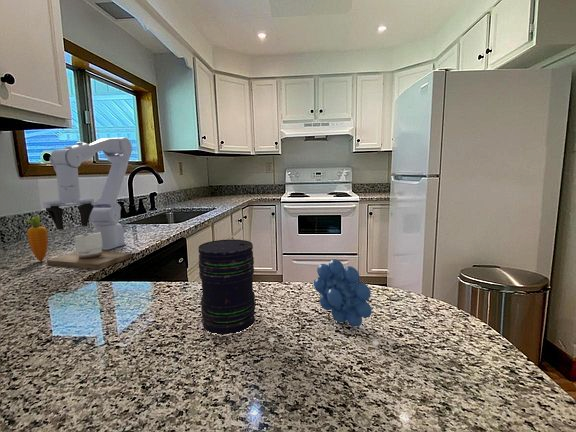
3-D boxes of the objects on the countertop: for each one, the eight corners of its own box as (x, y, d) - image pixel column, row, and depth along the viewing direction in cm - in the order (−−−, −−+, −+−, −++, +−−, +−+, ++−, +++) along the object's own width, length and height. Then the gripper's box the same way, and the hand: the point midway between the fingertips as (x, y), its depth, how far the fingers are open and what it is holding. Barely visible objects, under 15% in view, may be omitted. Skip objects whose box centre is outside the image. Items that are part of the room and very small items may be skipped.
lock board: (85, 253, 106) (84, 249, 106) (131, 257, 101) (131, 252, 101) (47, 264, 94) (46, 259, 93) (98, 269, 88) (97, 263, 88)
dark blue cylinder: (201, 340, 50) (196, 254, 48) (202, 314, 60) (197, 241, 58) (259, 331, 53) (257, 249, 51) (251, 307, 62) (249, 237, 60)
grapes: (301, 323, 56) (301, 260, 54) (320, 309, 61) (321, 252, 59) (360, 344, 49) (362, 273, 47) (376, 326, 54) (378, 262, 52)
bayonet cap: (72, 258, 94) (70, 236, 93) (89, 252, 101) (87, 231, 100) (91, 258, 93) (89, 236, 92) (107, 252, 100) (105, 232, 99)
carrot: (42, 263, 95) (36, 216, 93) (27, 263, 95) (20, 217, 93) (54, 258, 100) (48, 214, 98) (40, 259, 100) (34, 214, 98)
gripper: (50, 187, 89) (55, 232, 91) (98, 186, 102) (101, 225, 104) (37, 187, 92) (42, 230, 94) (85, 186, 105) (89, 224, 107)
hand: (72, 227), depth 99 cm, fingers open, 7 cm apart
